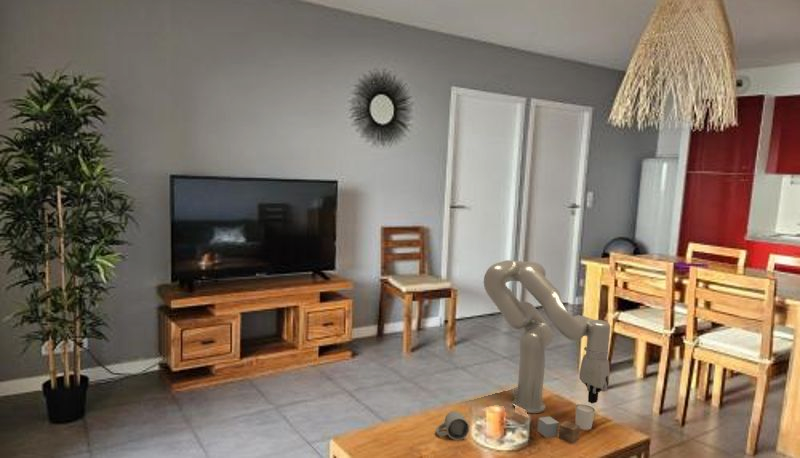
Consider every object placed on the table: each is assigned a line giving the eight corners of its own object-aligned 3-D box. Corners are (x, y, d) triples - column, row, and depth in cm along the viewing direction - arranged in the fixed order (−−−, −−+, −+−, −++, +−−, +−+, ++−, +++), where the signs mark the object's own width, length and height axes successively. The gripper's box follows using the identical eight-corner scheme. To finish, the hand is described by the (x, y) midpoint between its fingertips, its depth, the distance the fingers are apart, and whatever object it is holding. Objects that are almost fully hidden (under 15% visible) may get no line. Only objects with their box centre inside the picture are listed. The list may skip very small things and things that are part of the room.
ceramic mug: (463, 428, 192) (464, 408, 191) (468, 440, 184) (469, 418, 183) (433, 429, 191) (434, 408, 190) (438, 440, 183) (439, 419, 182)
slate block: (537, 431, 193) (538, 418, 193) (548, 429, 195) (550, 416, 195) (546, 438, 189) (547, 424, 188) (557, 436, 191) (558, 422, 190)
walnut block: (558, 438, 189) (559, 424, 188) (565, 433, 193) (566, 420, 192) (572, 443, 186) (573, 430, 185) (578, 439, 189) (579, 425, 189)
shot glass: (597, 429, 197) (599, 411, 196) (582, 431, 195) (584, 413, 194) (584, 420, 204) (586, 403, 203) (569, 423, 201) (571, 405, 200)
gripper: (573, 349, 202) (569, 396, 204) (607, 362, 190) (603, 412, 192) (586, 346, 206) (582, 392, 208) (621, 359, 194) (616, 408, 196)
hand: (592, 402), depth 200 cm, fingers closed
